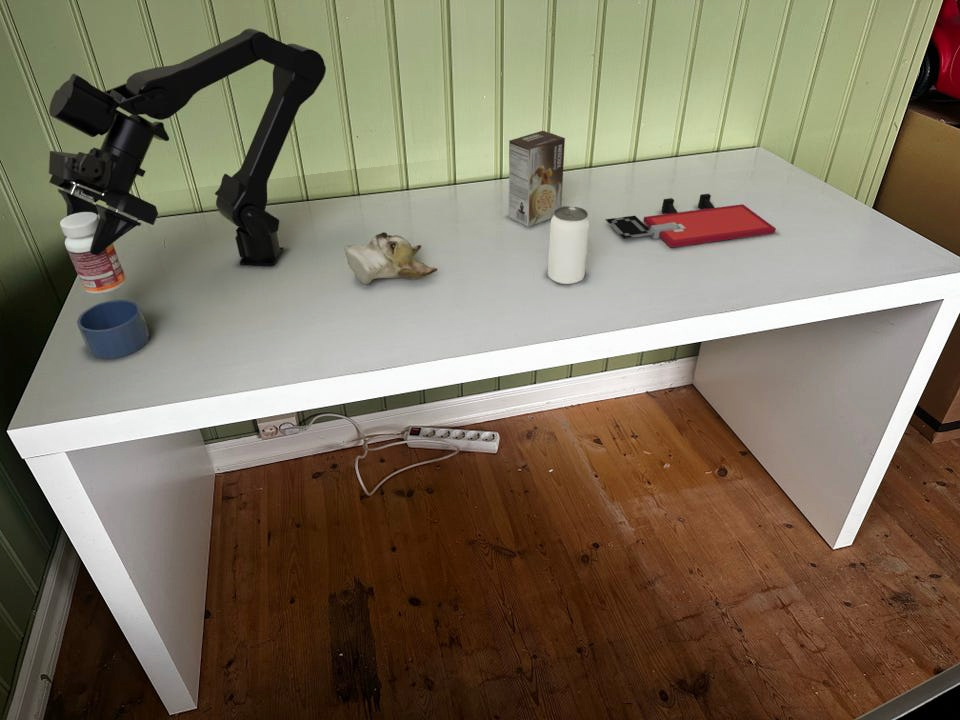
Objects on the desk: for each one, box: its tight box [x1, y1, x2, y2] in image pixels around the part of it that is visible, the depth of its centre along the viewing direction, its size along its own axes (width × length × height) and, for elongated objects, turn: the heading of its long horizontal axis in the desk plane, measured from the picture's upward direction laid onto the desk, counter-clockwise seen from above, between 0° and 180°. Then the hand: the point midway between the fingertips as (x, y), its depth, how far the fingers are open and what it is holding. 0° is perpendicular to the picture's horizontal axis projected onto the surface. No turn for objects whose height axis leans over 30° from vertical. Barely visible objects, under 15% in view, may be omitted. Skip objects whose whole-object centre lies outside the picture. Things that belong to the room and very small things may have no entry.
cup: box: [76, 299, 150, 360], centre depth 104 cm, size 9×9×5 cm
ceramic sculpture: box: [344, 231, 438, 286], centre depth 119 cm, size 11×9×15 cm
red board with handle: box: [604, 193, 777, 248], centre depth 135 cm, size 30×3×15 cm
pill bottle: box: [59, 212, 127, 295], centre depth 104 cm, size 6×6×11 cm
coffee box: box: [508, 130, 566, 228], centre depth 135 cm, size 9×6×16 cm
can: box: [547, 205, 590, 286], centre depth 117 cm, size 6×6×12 cm
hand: (80, 248), depth 102 cm, fingers closed on pill bottle, 6 cm apart
